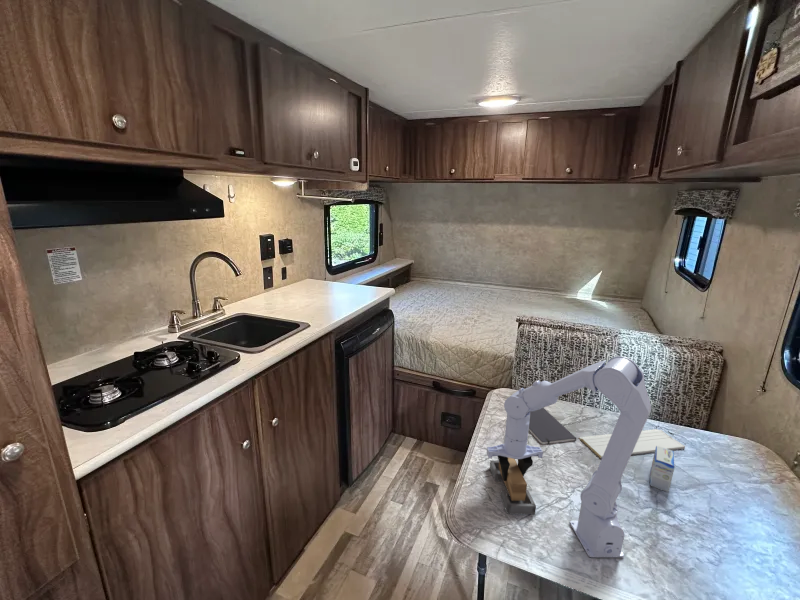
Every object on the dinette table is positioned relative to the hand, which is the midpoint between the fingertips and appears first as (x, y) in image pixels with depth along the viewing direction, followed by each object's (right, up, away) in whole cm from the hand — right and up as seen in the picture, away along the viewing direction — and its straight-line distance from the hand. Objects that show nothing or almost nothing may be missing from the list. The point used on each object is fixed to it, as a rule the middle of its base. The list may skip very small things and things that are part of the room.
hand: (511, 478), depth 99 cm
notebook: (+20, +3, +32) cm, 38 cm away
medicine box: (+44, -3, +5) cm, 44 cm away
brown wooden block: (0, -2, +1) cm, 2 cm away
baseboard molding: (+46, 0, +22) cm, 51 cm away
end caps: (0, -3, +1) cm, 3 cm away
